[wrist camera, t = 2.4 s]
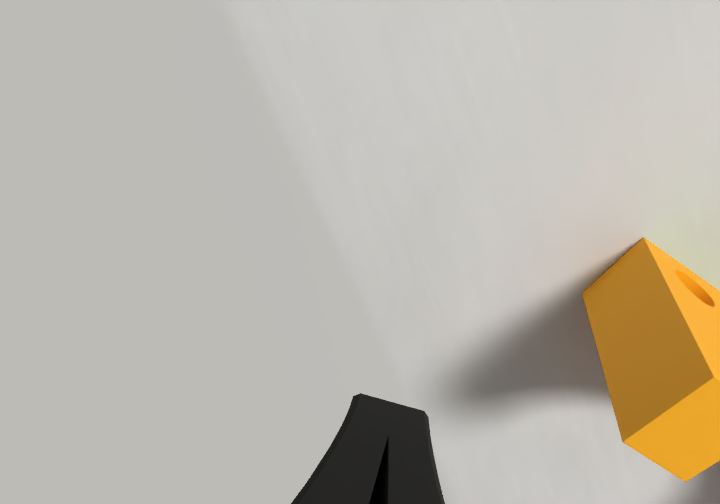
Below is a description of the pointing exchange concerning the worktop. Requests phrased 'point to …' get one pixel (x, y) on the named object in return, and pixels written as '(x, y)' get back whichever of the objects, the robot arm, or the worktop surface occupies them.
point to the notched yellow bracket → (660, 357)
